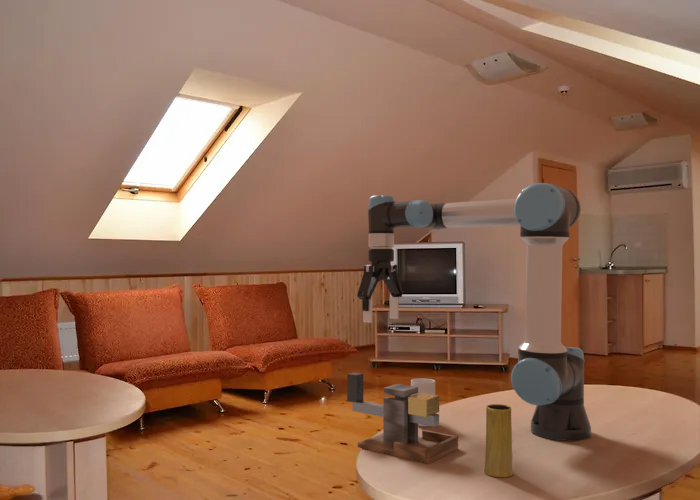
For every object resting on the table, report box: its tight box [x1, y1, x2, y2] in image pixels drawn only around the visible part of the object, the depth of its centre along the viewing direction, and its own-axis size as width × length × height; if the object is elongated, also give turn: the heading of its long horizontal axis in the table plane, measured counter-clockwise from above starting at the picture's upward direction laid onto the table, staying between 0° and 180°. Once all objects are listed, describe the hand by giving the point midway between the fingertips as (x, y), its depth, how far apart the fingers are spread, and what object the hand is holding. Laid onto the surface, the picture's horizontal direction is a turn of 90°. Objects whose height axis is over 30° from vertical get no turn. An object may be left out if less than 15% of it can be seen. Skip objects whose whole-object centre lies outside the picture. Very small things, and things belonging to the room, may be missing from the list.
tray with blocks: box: [357, 383, 459, 465], centre depth 155 cm, size 20×14×14 cm
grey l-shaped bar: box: [346, 371, 440, 427], centre depth 158 cm, size 26×3×9 cm, turn 53°
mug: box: [410, 378, 436, 428], centre depth 179 cm, size 10×7×12 cm, turn 161°
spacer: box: [408, 393, 440, 417], centre depth 152 cm, size 5×6×4 cm
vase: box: [484, 403, 514, 479], centre depth 137 cm, size 6×6×14 cm
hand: (381, 320), depth 187 cm, fingers open, 13 cm apart
